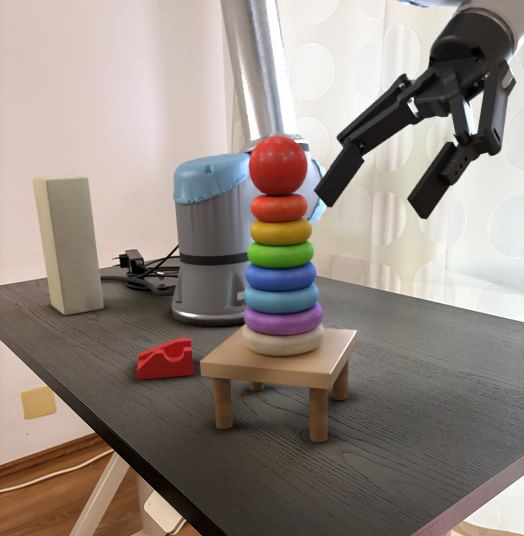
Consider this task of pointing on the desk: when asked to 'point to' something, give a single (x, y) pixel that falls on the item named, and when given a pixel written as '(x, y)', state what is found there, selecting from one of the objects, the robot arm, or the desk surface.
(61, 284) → the white rectangular block
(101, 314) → the desk surface
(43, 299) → the desk surface
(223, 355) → the stool
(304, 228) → the stacking toy
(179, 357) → the red notched block
